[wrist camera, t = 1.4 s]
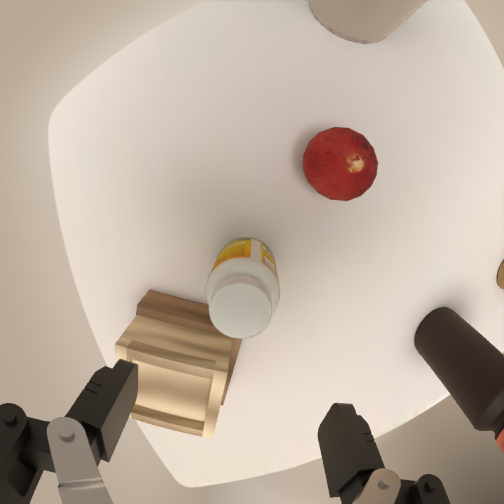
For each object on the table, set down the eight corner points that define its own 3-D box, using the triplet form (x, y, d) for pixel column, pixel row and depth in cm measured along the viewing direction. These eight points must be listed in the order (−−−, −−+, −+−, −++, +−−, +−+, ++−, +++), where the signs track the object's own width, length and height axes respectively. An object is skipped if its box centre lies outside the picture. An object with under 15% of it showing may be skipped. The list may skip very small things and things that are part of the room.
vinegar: (434, 299, 28) (545, 403, 9) (462, 315, 29) (557, 405, 9) (404, 346, 30) (486, 468, 10) (434, 357, 30) (510, 459, 11)
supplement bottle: (283, 249, 26) (298, 291, 17) (260, 298, 28) (263, 357, 18) (228, 227, 26) (214, 259, 17) (209, 279, 27) (188, 331, 18)
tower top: (137, 314, 24) (115, 344, 19) (232, 336, 25) (227, 372, 20) (137, 382, 27) (121, 414, 22) (217, 402, 27) (212, 438, 22)
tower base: (150, 288, 28) (136, 305, 24) (244, 312, 29) (243, 332, 25) (145, 361, 31) (134, 382, 27) (225, 382, 31) (222, 405, 27)
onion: (329, 121, 23) (360, 101, 15) (369, 168, 24) (412, 169, 16) (283, 162, 24) (297, 157, 16) (326, 209, 25) (356, 225, 18)
